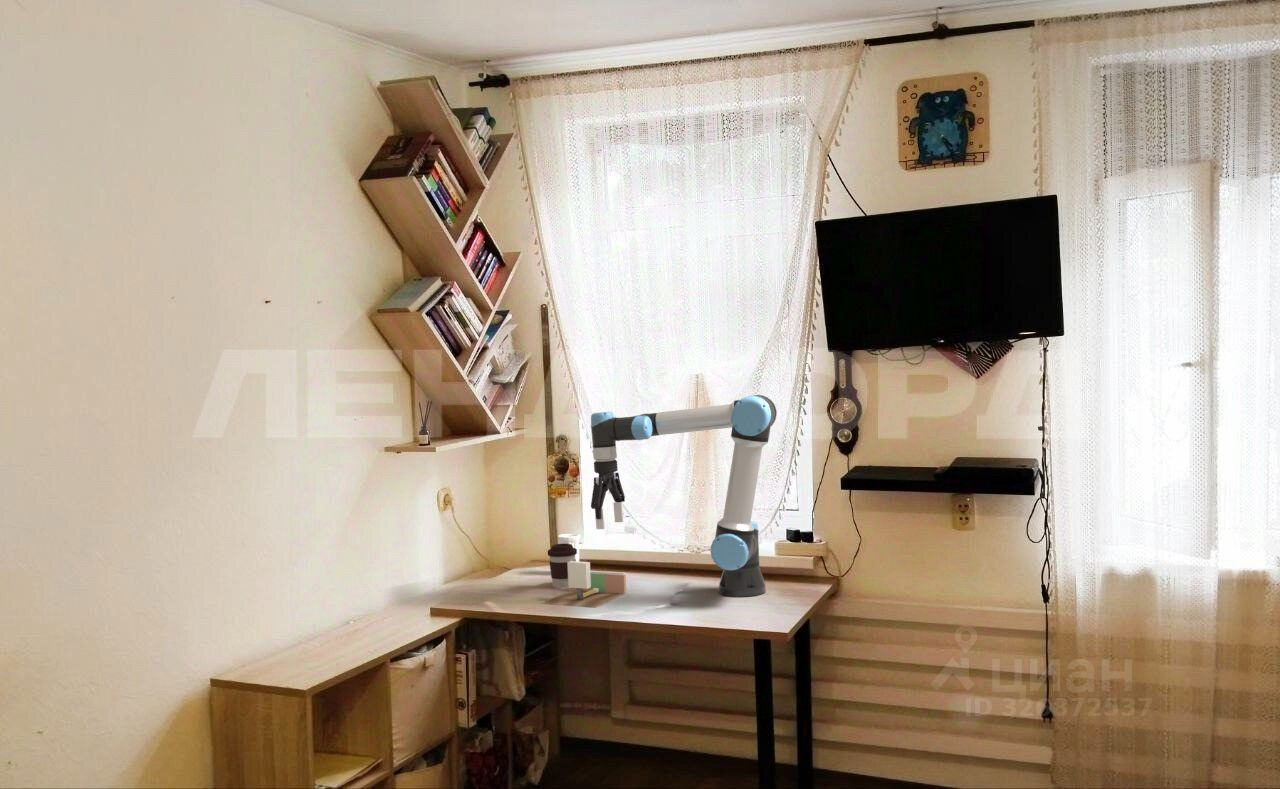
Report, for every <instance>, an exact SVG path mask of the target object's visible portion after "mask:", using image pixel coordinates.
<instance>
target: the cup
mask: <svg viewBox="0 0 1280 789" xmlns="http://www.w3.org/2000/svg"><path fill="white" fill-rule="evenodd" d="M580 539H581V534H580V533H562V534H559V535H558V536H557V540H558V544H571V545H572V546H573V548H576V549H577V554H575V559H576V561H580Z"/></svg>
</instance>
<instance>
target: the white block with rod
mask: <svg viewBox="0 0 1280 789" xmlns="http://www.w3.org/2000/svg"><path fill="white" fill-rule="evenodd" d="M567 565H568V588H570V589H571V588H577V600H579V601H580V600H583V597H586V596H588V595H591V594H593V593H597V592H599V588H594V589H593V590H591V591H588V592H586V593H583V589H588V588H591V575H590V571H591V562H590V561H580V560H579V561H570V562H567Z"/></svg>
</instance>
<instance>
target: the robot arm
mask: <svg viewBox="0 0 1280 789" xmlns="http://www.w3.org/2000/svg"><path fill="white" fill-rule="evenodd" d="M777 413H778V411H777V407H776V404H775V403H774V402H773V400H771V399H770V398H769V397H767V396H765V395H761V394H754V395H748V396H745V397H742V398H741V399H735V400H733V402H732V403H730V404H729V403H728V404H719V405H713V406H712V405H711V406H702V407H695V408H694V407H693V408H685V409H677V410H671V411H670V410H669V411H661V412H652V413H650V412H649V413H646V412H645V413H641V414H639V415H634V416H623V417H616V416H615V414H614V412H613V411H602V412H594V413H592V414H591V415H590V429H591V431H590V432H591V441H592V456H593V460H594V462H593V469H594V470H593V471H594V473H596V474H598V476H595V477H593V489H592V496H591V502H590V503H591V504H590V508H591V509H592V510H594V514H595V528H596V530H605V529H606V526H605V525H606V523H605V512H604V510H605V509H604V508H603V505H604V502H605V498H606V493H607V492H608V491H609V493H610V494H611V497H612V498H613V499H612V500H613V501H614V502H613V513H614V514H613V515H614V523H624V516H623V515H624V514H623V503H624V502H625V501H626V496H625V492H624V489H623V486H622V483H621V479H620V473H619V472H618V470H619V469H618V460H617V459H618V458H617V457H618V454H617V444H616V443H617V442H620V441H643V440H648V439H650V438H652V437H656V436H664V435H665V436H666V435H674V434H683V433H692V432H694V433H695V432H701V431H702V432H703V431H712V430H713V431H714V430H720V429H731V431H730V432H731V433H730V437H731V439H732V441H733V442H734V444H733V452H732V457H731V458H732V460H731V463H730V464H731V465H730V472H729V477H728V483H727V484H728V485H727V490H726V497H725V502H724V509H723V510H724V511H723V517H722V518H721V519H719V520H718V521H717V524H716V528H715V535H714V538H713V540H712V542H711V545H710V556H711V559H712V561H713V563H715V564H716V566H717V567H719V568H720V569H722V573H721V577H720V581H719V583H718V584H719V585H718V593H719V594H721V595H722V596H727V597H737V598H738V597H755V596H758V595H759V596H760V595H763V594H764V593H766V591H767V588H766V586H767V584H766V582H765V580H764V576H763V573H762V571H761V570H762V569H761V568H760V567H761V566H760V550H759V549H760V546H759V545H760V544H759V543H760V542H759V526H758V523H757V522H755V521H752V515H753V508H754V503H755V496H756V489H757V483H758V478H759V471H760V465H761V464H760V463H761V460H762V459H761V458H762V451H763V447H764V446H765V445H767V444H768V443H769V439H770V433H771V427H772V426H773V425H774V423H775V422H776V420H777Z"/></svg>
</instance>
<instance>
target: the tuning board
mask: <svg viewBox="0 0 1280 789" xmlns="http://www.w3.org/2000/svg"><path fill="white" fill-rule="evenodd" d="M586 592H588V591H583V593H586ZM623 595H624V594H621V593H606V592H597V593H593V594H591V595H588V596H586V597H583V600H580V601H579V600H577V591H576V590H571V589H570V590H568V591H565V592H564V593H561V594H560V595H556V596H554V597H552V598H549V599H547V600H545V601H543V602H540V603H539V604H540V605H553V606H554V605H555V606H566V607H569V606H570V607H578V608H579V607H580V608H593V609H596V608H599V607H601V606H602V605H604V604H607V603H609V602H611V601H613V600H615V599H617V598H619V597H620V596H623Z"/></svg>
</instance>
